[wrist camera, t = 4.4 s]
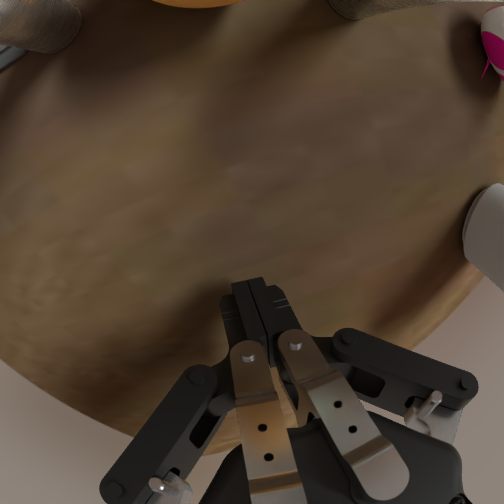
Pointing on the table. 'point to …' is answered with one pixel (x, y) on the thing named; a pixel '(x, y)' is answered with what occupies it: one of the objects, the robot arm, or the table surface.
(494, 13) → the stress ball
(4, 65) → the calculator
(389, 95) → the table surface
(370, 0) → the post
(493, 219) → the can
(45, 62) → the table surface
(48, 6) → the post
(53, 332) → the table surface
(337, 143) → the table surface
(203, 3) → the ball
